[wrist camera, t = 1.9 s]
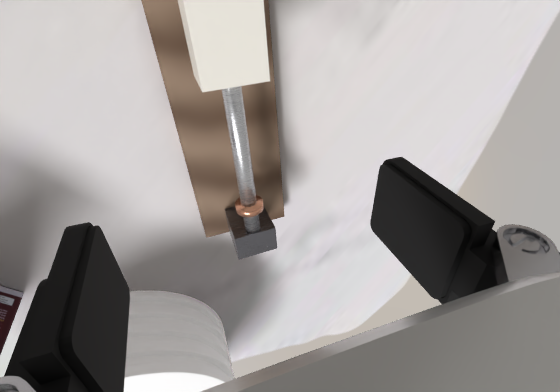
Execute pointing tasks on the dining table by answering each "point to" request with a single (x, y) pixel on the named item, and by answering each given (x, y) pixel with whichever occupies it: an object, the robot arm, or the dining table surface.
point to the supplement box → (7, 311)
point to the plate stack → (174, 344)
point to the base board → (216, 123)
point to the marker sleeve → (226, 42)
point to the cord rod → (245, 186)
